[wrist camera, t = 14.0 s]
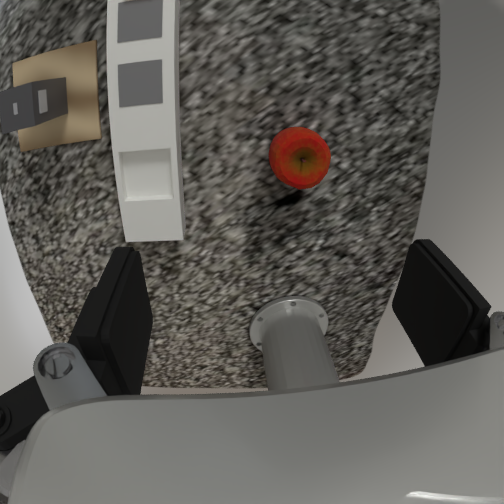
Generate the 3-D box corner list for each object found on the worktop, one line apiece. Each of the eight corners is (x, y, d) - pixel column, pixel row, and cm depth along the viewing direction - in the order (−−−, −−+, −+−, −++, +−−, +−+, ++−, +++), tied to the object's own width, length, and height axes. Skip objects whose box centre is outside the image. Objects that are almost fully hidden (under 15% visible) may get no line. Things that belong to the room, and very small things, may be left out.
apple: (323, 158, 37) (344, 178, 31) (277, 180, 38) (289, 204, 32) (302, 111, 34) (321, 121, 28) (254, 134, 35) (262, 149, 29)
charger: (68, 113, 31) (35, 126, 24) (38, 119, 30) (2, 134, 24) (66, 76, 28) (31, 81, 22) (35, 84, 28) (-3, 92, 21)
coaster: (101, 137, 33) (100, 138, 33) (22, 151, 32) (21, 151, 32) (96, 40, 27) (95, 40, 27) (14, 63, 26) (12, 63, 26)
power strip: (186, 225, 40) (182, 242, 37) (132, 227, 40) (124, 244, 36) (184, -72, 21) (180, -87, 17) (123, -64, 20) (113, -76, 16)
